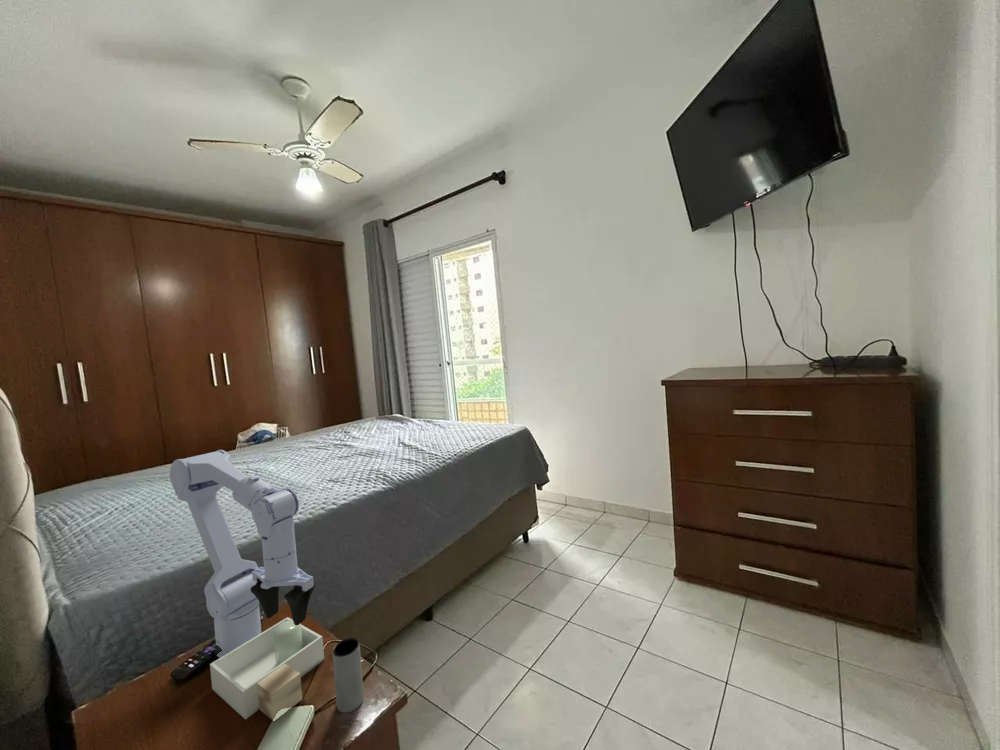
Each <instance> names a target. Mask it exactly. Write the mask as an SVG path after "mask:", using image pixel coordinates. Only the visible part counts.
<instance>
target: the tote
mask: <svg viewBox="0 0 1000 750" xmlns="http://www.w3.org/2000/svg"><path fill="white" fill-rule="evenodd" d="M288 620H293V618H290V617H288V616H287V617H286V618H284V619H282V620H280V621H279V622H277V623H275V624H274V625H272V626H271V627H269V628H267V629H266V630H264V631H261V634H259V635H257V636H256V637H254V638H252V639H251V640H249V641H247V642H246V643H244V644H242V645H241V646H239V647H237V648H236V649H234V650H232V651H231V652H229V653H228V654H226V655H224V656H223V657H221V658H219V657H218V659H216V660H214V661H212V662H211V663H209V667H210V682H211V688H212V691H214V692H215V693H216V694H217V695H218V696H219V697H220V698H221V699H222V700H223V701H225V703H227V704H228V706H230V707H231V708H232V709H233V710H235V712H237V714H238V715H240V716H241V717H242V718H243V719H244V720H247V719H249V717H251V716H253V715H254V714H255V713H256V712H257V711H260V709H259V698H258V687H257V683H258V682H259V681H261V680H262V679H264V678H265V677H266V676H268V675H269V674H271V673H272V672H274V671H275V670H276V669H278V668H279V667H281V666H282V665H283V664H287V665H288V666H290V667H291V668H293V669H294V670H296V671H297V672H299V673H300V677H301V678H302V677H304V676H305V675H307V674H308V673H309V672H311V671H312V670H313V669H315V668H316V667H317V666H318V665H319V664H321V663H322V662H323V661H325V651H324V639H323V635H320V634H319V633H317V632H316V631H314V630H311V629H310V628H308V627H306V626H305V625H303V624H301V623H300V625H301V634H302V643H303V649H301V650H300V651H298V652H297V653H295V654H294V655H293V656H291V657H290V658H288V659H287V660H285V661H284V662H282V663H281V664H280V665H278V666H277V667H276V658H275V650H274V641H273V630H274V629H275V628H276V627H277V626H278V625H280V624H281V623H283V622H285V621H288Z"/></svg>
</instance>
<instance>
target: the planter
mask: <svg viewBox="0 0 1000 750" xmlns="http://www.w3.org/2000/svg"><path fill="white" fill-rule="evenodd" d="M360 643H361V642H360V640H359V638H357V637H356V638H355V637H347V638H344V639H342V640H341V641H338V642H337V643H336V644H335V646H334V647H333V649H332V660H333V661H332V665H333V675H334V685H335V688H334V689H335V700H336V701H335V702H336V708H337V710H338V711H339V712H340V713H345V714H346V713H350V712H352V711H354V710H356V709H357V708H359V707H360V706H361V704H362V703H363V702H364V697H365V693H364V682H363V680H364V679H363V670H362V669H363V668H362V659H361V658H362V655H361V645H360Z"/></svg>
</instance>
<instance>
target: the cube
mask: <svg viewBox="0 0 1000 750" xmlns="http://www.w3.org/2000/svg"><path fill="white" fill-rule="evenodd" d="M301 678H302V677H300V673H299V672H297V671H296V670H294V669H293V668H291V667H290V666H288V665H287V664H283V665H282V666H281V667H279V668H278V669H276V670H275V671H274V672H272V673H271V674H269V675H268V676H266V677H265V678H264V679H262V680H261V681H259V682H258V683H257V687H258V698H259V711H261V712H262V713H263V714H264V715H266V717H268V718H269V719H270V720H271V721H273V719H274V718H275V716H276V714H277V713H278V711H280V710H281V709H284V708H289V707H292V708H293V706H294V707H295V706H296V705H297V704H298V703H300V702H301V701H302V700H303V691H302V689H303V688H302V679H301Z"/></svg>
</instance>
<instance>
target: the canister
mask: <svg viewBox="0 0 1000 750" xmlns="http://www.w3.org/2000/svg"><path fill="white" fill-rule="evenodd" d="M300 624H301V623H300ZM300 624H299V625H294V622H293V619H292V620H288V621H285V622H283V623H281V624H280V625H278V626H277V627H276V628H275V629H274V630H273V641H274V650H275V658H276V667H277V666H278V665H280V664H281V663H282V662H284V661H285V660H287V659H288V658H290V657H291V656H293V655H294V654H295V653H297V652H298V651H300V650H301V649H303V643H302V634H301V625H302V624H301V625H300Z"/></svg>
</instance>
